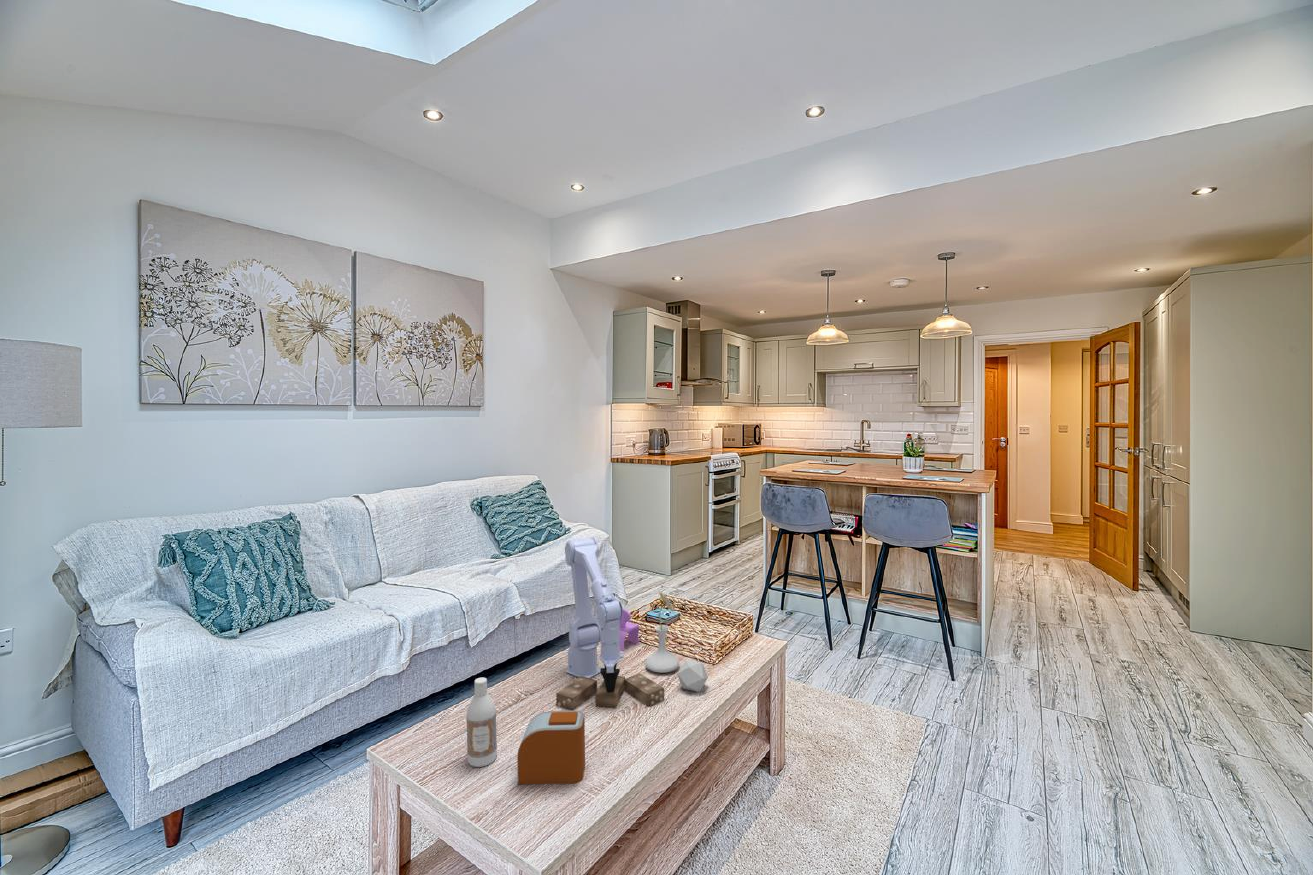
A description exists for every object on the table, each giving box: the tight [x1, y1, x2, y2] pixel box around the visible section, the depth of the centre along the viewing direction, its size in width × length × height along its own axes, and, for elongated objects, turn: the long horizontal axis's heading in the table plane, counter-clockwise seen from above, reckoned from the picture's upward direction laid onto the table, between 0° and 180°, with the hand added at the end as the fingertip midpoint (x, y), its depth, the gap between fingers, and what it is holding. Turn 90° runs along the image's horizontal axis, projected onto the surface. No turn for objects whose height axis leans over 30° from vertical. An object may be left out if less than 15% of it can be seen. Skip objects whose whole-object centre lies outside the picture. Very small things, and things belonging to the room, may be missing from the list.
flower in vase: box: [645, 591, 680, 673], centre depth 183 cm, size 13×11×25 cm
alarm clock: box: [516, 710, 586, 785], centre depth 130 cm, size 15×8×14 cm, turn 91°
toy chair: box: [619, 608, 640, 653], centre depth 201 cm, size 8×9×15 cm
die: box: [676, 659, 709, 693], centre depth 169 cm, size 8×9×10 cm
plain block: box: [594, 675, 626, 709], centre depth 164 cm, size 12×6×4 cm, turn 170°
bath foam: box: [466, 676, 498, 768], centre depth 135 cm, size 7×7×20 cm
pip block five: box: [624, 672, 665, 708], centre depth 165 cm, size 12×6×4 cm, turn 39°
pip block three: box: [555, 676, 598, 711], centre depth 164 cm, size 12×6×4 cm, turn 151°
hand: (610, 685), depth 164 cm, fingers open, 7 cm apart
